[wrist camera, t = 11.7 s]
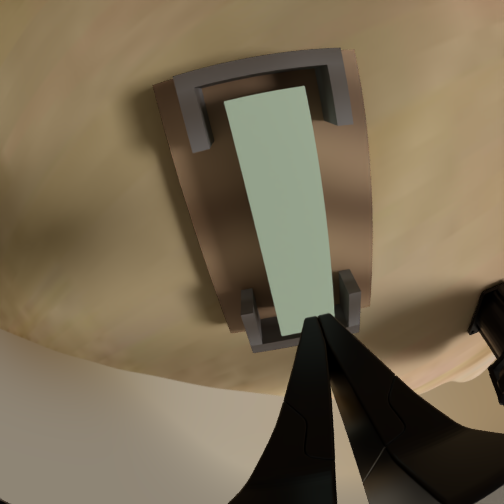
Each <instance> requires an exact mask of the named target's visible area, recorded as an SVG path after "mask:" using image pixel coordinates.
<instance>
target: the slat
mask: <svg viewBox="0 0 504 504" xmlns="http://www.w3.org/2000/svg"><path fill="white" fill-rule="evenodd" d="M224 104H225V108H226V112H227V116H228V120H229V124H230V128H231V132H232V136H233V140H234V143H235V147H236V151H237V155H238V159H239V163H240V167H241V171H242V175H243V179H244V183H245V187H246V191H247V195H248V199H249V203H250V207H251V211H252V215H253V219H254V224H255V228H256V232H257V236H258V240H259V244H260V248H261V252H262V256H263V260H264V264H265V269H266V273H267V277H268V281H269V285H270V289H271V293H272V298H273V302H274V306H275V310H276V314H277V319H278V323H279V327H280V331H281V335H282V336H286V335H291V334H296V333H300V332H301V331H302V327H303V323H304V319H305V318H307V317H312V316H317V317H318V316H319V315H321V314H326V313H330V314H331V315H333V316H334V317H335V314H334V297H333V283H332V270H331V258H330V248H329V238H328V229H327V220H326V211H325V203H324V196H323V188H322V181H321V174H320V168H319V161H318V155H317V149H316V143H315V137H314V131H313V126H312V120H311V115H310V110H309V105H308V100H307V95H306V90H305V86H300V87H292V88H286V89H280V90H274V91H269V92H263V93H258V94H254V95H249V96H244V97H240V98H235V99H231V100H227V101H224Z"/></svg>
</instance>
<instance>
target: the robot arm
mask: <svg viewBox="0 0 504 504" xmlns="http://www.w3.org/2000/svg"><path fill="white" fill-rule="evenodd" d="M477 332H480V334H481V335H482V337H483V338H484V340H485V341H486V343H487V344H488V346H489V347H490V349H491V351H492V352H493V354H494V355H495V357H496V358H497V360H496V361H495V362H494V363H493V364H492V365H490V366H489V367H488V370H489V373H490V374H489V375H490V378H491V380H492V383H493V386H494V388H495V391H496V393H497V396H498V401H499V403H500V405H504V283H503V284H501V285H498V286H496V287H493V288H491V289H488V290H486V291H484V292H483V293H482V295H481V297H480V300H479V303H478V306H477V309H476V311H475V314H474V317H473V320H472V322H471V325H470V327H469V330H468V333H469V335H472V334H474V333H477ZM394 376H395V374H394V373H393V372H392V371H391V370H390V369H389V368H388V367H387V366H386V365H385V364H384V363H383V362H382V361H380V360H379V359H378V358H377V357H376V356H375V355H374V354H373V353H372V352H371V351H370V350H369V349H368V348H367V347H366V346H365V345H364V344H362V343H361V342H360V341H359V340H358V339H357V338H356V337H355V336H354V335H353V334H352V333H351V332H350V331H349V330H348V329H346V328H345V327H344V326H343V325H342V324H341V323H340V322H339V321H338V320H337V319H336V318H335V317H334V316H333V315H331V314H330V313H326V314H321V315H319V316H318V317H317V316H312V317H307V318H305V319H304V323H303V327H302V331H301V336H300V340H299V344H298V348H297V352H296V356H295V360H294V364H293V368H292V371H291V375H290V379H289V383H288V386H287V390H286V394H285V397H284V402H283V404H282V408H281V411H280V414H279V417H278V420H277V423H276V426H275V428H274V430H273V433H272V435H271V438H270V440H269V442H268V444H267V446H266V448H265V450H264V452H263V454H262V456H261V458H260V460H259V462H258V464H257V466H256V467H255V470H254V471H253V473H252V475H251V476H250V478H249V480H248V481H247V483H246V484H245V486H244V487H243V488H242V489H241V491H240V492H239V493H238V494H237V495H236V496H235V497H234V498H233V499H232V500H231V501H230V502H229V503H228V504H337V492H336V475H335V449H334V428H333V413H332V398H331V388H332V391H333V394H334V397H335V400H336V403H337V406H338V409H339V412H340V414H341V417H342V420H343V423H344V426H345V429H346V432H347V435H348V438H349V442H350V445H351V448H352V450H353V454H354V457H355V460H356V463H357V466H358V469H359V473H360V475H361V479H362V482H363V486H364V489H365V492H366V495H367V499H368V502H369V504H504V434H502V433H494V432H488V431H482V430H475V429H471V428H467V427H464V426H462V425H460V424H458V423H456V422H455V421H453V420H452V419H450V418H449V417H448V416H446V415H445V414H443V413H442V412H441V411H439V410H438V409H436V408H435V407H434V406H432V405H431V404H430V403H428V402H427V401H425V400H424V399H423V398H422V397H420V396H419V395H418V394H416V393H415V392H414V391H413V390H412V389H411V388H409V387H408V386H407V385H406V384H405V383H404V382H403V381H402V380H401V379H400V378H399V377H398V376H395V377H394ZM0 504H9V503H8V502H6V501H4V500H2V499H0Z"/></svg>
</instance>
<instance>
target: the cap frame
mask: <svg viewBox="0 0 504 504" xmlns="http://www.w3.org/2000/svg"><path fill="white" fill-rule="evenodd" d="M300 86H305V90H306V95H307V100H308V105H309V110H310V115H311V120H312V126H313V131H314V137H315V143H316V149H317V155H318V161H319V168H320V174H321V181H322V188H323V196H324V203H325V211H326V220H327V229H328V238H329V248H330V258H331V270H332V283H333V297H334V314H335V318H336V319H337V320H338V321H339V322H340V323H341V324H342V325H343V326H344V327H345V328H346V329H348V330H349V331H350V332H351V333H352V334H353V333H357V332H359V326H360V308H364V307H368V306H370V297H371V279H372V245H373V222H372V188H371V170H370V156H369V144H368V134H367V125H366V117H365V109H364V102H363V95H362V88H361V82H360V76H359V70H358V65H357V60H356V55H355V50H354V49H346V50H341V48H324V49H311V50H300V51H291V52H283V53H275V54H269V55H262V56H256V57H251V58H245V59H240V60H235V61H230V62H226V63H221V64H217V65H213V66H209V67H205V68H201V69H197V70H194V71H190V72H186V73H183V74H180V75H176V76H173V79H170V80H167V81H164V82H161V83H158V84H155V85H153V89H154V93H155V96H156V100H157V104H158V108H159V112H160V115H161V119H162V123H163V126H164V130H165V134H166V137H167V141H168V144H169V148H170V151H171V155H172V158H173V162H174V165H175V168H176V172H177V175H178V178H179V182H180V185H181V188H182V191H183V195H184V198H185V201H186V204H187V208H188V211H189V214H190V217H191V220H192V223H193V226H194V229H195V232H196V235H197V238H198V241H199V244H200V247H201V250H202V253H203V256H204V259H205V262H206V265H207V268H208V271H209V274H210V277H211V280H212V282H213V285H214V288H215V291H216V294H217V297H218V299H219V302H220V305H221V308H222V310H223V313H224V316H225V319H226V321H227V324H228V327H229V329H230V332H231V333H236V332H243V331H246V333H247V336H248V339H249V342H250V345H251V348H252V351H253V353H257V352H264V351H270V350H276V349H281V348H287V347H292V346H298V344H299V340H300V336H301V332H300V333H296V334H291V335H286V336H282V335H281V331H280V327H279V323H278V319H277V314H276V310H275V306H274V302H273V298H272V293H271V289H270V285H269V281H268V277H267V273H266V269H265V264H264V260H263V256H262V252H261V248H260V244H259V240H258V236H257V232H256V228H255V224H254V219H253V215H252V211H251V207H250V203H249V199H248V195H247V191H246V187H245V183H244V179H243V175H242V171H241V167H240V163H239V159H238V155H237V151H236V147H235V143H234V140H233V136H232V132H231V128H230V124H229V120H228V116H227V112H226V108H225V104H224V101H227V100H231V99H235V98H240V97H244V96H249V95H254V94H258V93H263V92H269V91H274V90H280V89H286V88H292V87H300Z"/></svg>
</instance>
